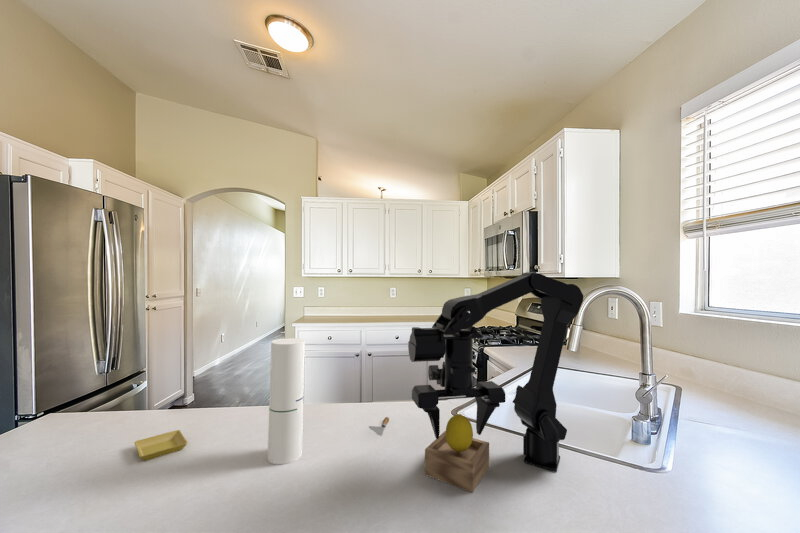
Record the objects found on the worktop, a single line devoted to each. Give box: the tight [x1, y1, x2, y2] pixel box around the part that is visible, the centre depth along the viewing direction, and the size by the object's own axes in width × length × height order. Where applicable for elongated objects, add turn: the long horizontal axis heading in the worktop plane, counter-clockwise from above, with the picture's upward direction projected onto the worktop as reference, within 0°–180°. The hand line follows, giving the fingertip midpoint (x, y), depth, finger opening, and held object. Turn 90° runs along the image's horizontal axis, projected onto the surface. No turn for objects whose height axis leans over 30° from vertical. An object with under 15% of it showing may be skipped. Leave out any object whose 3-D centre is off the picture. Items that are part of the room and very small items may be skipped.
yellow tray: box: [134, 429, 188, 462], centre depth 73 cm, size 9×9×2 cm
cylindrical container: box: [267, 338, 306, 465], centre depth 72 cm, size 7×7×25 cm
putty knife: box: [368, 416, 390, 437], centre depth 85 cm, size 13×1×5 cm
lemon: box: [445, 413, 474, 453], centre depth 67 cm, size 6×6×8 cm
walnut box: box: [424, 430, 490, 493], centre depth 67 cm, size 10×10×5 cm
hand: (458, 435), depth 67 cm, fingers open, 9 cm apart
